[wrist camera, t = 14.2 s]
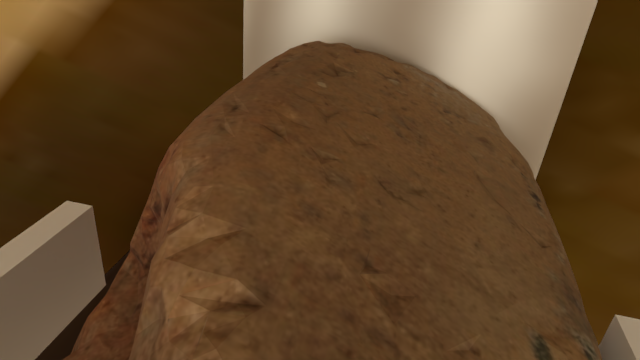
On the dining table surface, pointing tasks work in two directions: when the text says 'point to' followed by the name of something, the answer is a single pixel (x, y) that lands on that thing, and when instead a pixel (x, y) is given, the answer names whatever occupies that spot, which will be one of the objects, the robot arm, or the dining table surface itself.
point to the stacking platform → (447, 49)
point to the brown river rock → (342, 229)
